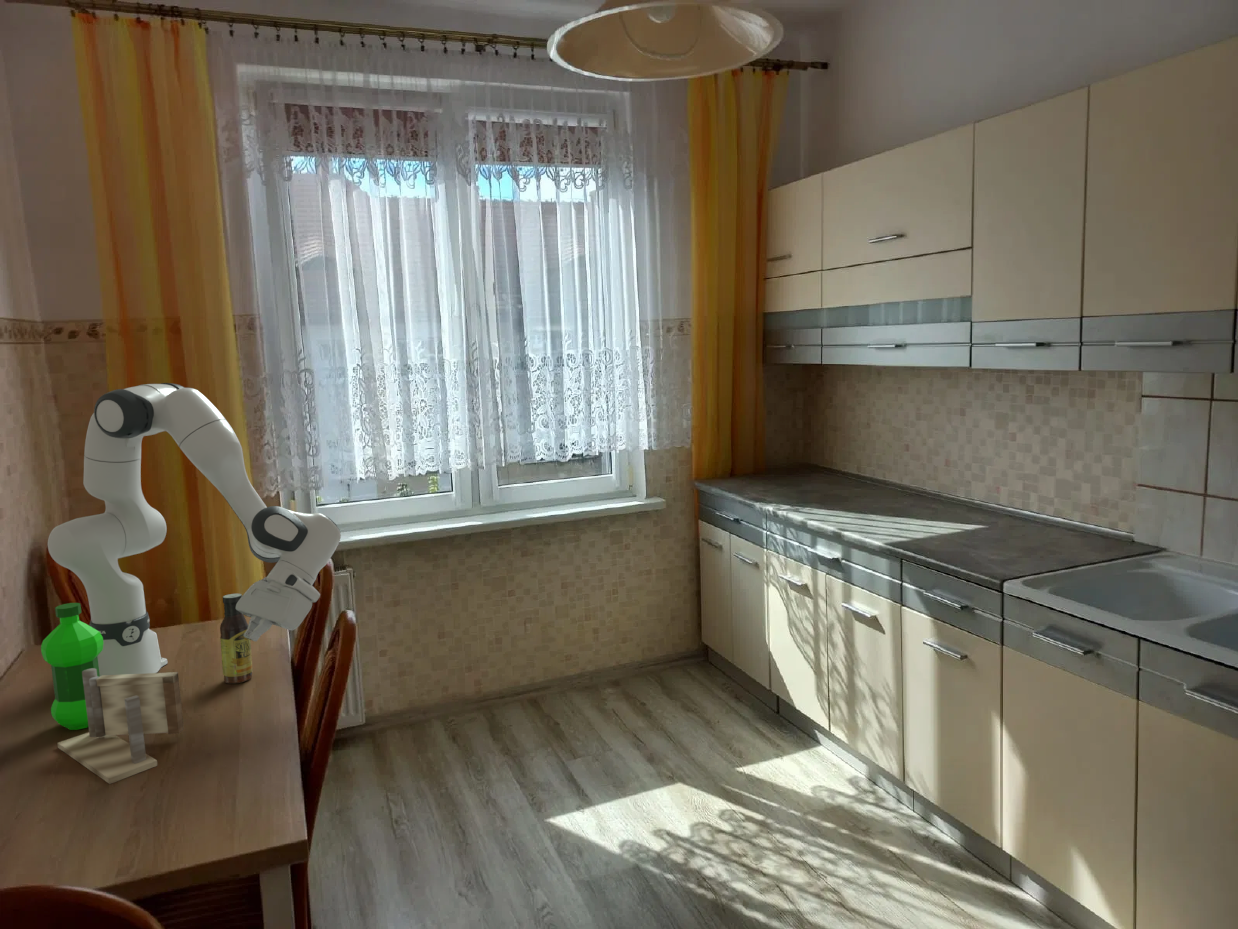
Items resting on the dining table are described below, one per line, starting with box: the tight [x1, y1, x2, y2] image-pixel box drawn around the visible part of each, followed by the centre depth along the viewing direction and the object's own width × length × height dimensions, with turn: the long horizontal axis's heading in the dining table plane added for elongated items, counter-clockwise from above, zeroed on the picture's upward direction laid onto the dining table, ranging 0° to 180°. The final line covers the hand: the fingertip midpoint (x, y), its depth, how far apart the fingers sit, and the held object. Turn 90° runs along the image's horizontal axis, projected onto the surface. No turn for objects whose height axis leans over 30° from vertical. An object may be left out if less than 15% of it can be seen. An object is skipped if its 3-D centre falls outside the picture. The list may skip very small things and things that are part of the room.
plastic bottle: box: [40, 602, 103, 731], centre depth 170 cm, size 10×10×25 cm
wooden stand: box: [57, 668, 158, 785], centre depth 156 cm, size 24×8×14 cm, turn 52°
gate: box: [89, 671, 185, 737], centre depth 162 cm, size 16×2×12 cm, turn 92°
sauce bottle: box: [219, 593, 254, 684], centre depth 192 cm, size 7×6×20 cm
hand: (249, 639), depth 175 cm, fingers closed
